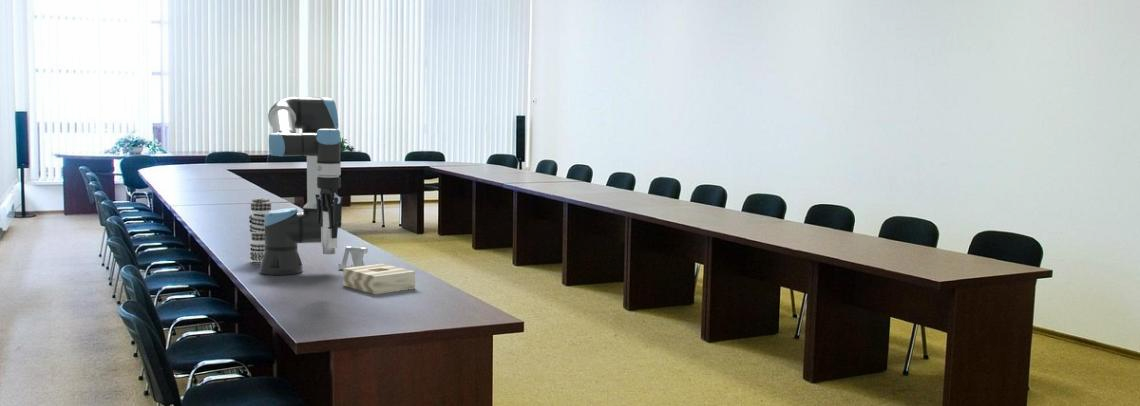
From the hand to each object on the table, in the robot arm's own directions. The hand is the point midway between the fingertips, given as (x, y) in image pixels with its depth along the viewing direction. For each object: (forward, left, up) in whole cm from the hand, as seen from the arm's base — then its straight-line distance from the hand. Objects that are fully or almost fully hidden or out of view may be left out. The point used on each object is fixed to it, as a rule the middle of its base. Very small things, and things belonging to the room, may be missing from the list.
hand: (329, 246), depth 313 cm
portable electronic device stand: (-36, +31, -16) cm, 50 cm away
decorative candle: (-73, +12, -16) cm, 75 cm away
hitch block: (0, +19, -16) cm, 25 cm away
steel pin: (0, 0, -2) cm, 2 cm away
